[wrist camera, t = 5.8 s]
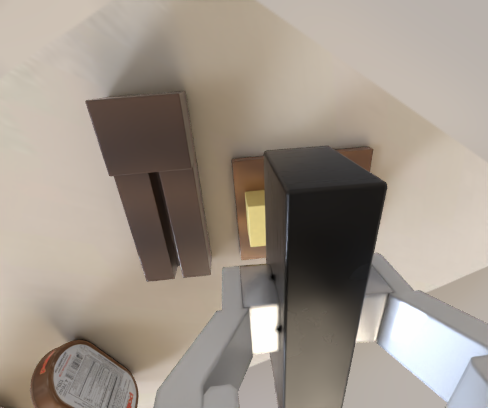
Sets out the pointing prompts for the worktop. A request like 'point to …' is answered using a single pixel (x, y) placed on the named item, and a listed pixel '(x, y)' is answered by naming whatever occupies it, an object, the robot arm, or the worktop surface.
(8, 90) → the worktop surface
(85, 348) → the tin
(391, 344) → the robot arm
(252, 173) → the board
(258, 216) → the butter
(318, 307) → the knife
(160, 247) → the knife stand
